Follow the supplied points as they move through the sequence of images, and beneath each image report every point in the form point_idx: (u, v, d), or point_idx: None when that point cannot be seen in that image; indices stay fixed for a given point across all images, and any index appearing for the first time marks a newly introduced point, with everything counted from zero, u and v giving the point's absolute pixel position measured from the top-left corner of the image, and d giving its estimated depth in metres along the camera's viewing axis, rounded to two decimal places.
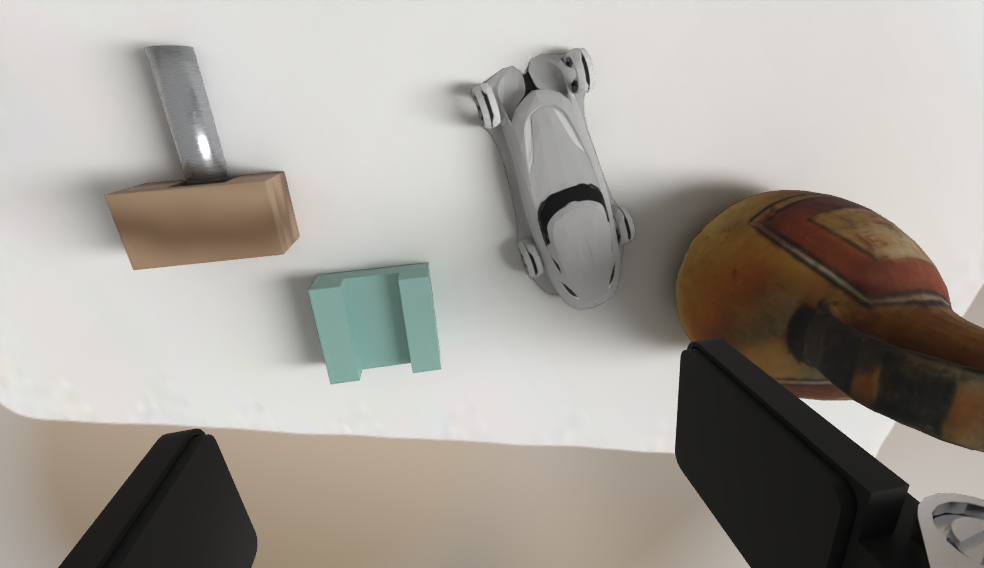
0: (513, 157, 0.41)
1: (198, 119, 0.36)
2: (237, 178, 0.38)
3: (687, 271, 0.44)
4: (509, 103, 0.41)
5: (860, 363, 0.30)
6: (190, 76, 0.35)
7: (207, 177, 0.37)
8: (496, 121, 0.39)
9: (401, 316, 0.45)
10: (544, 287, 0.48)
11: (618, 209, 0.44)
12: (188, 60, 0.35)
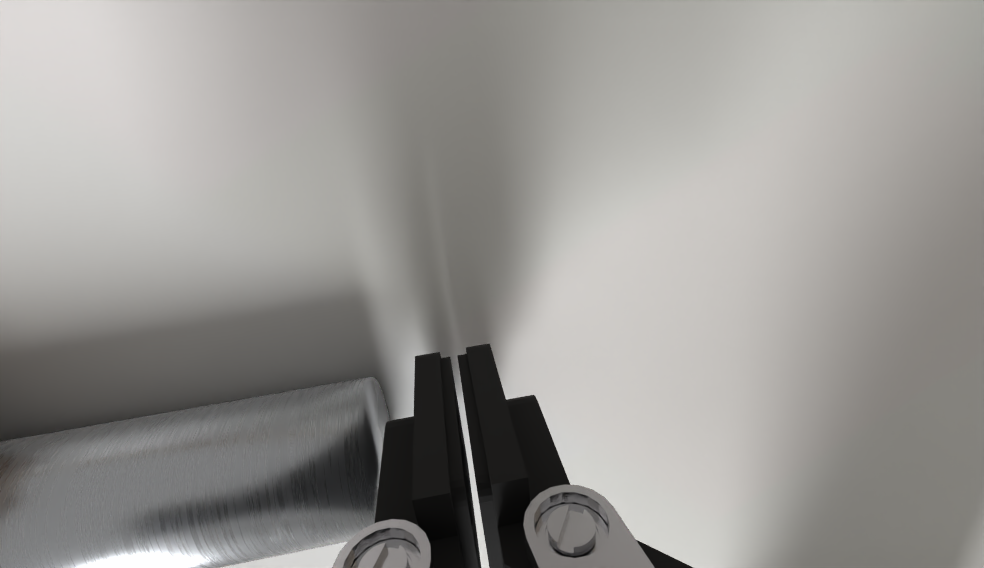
0: None
1: None
2: None
3: None
4: None
5: None
6: None
7: None
8: None
9: None
10: None
11: None
12: None
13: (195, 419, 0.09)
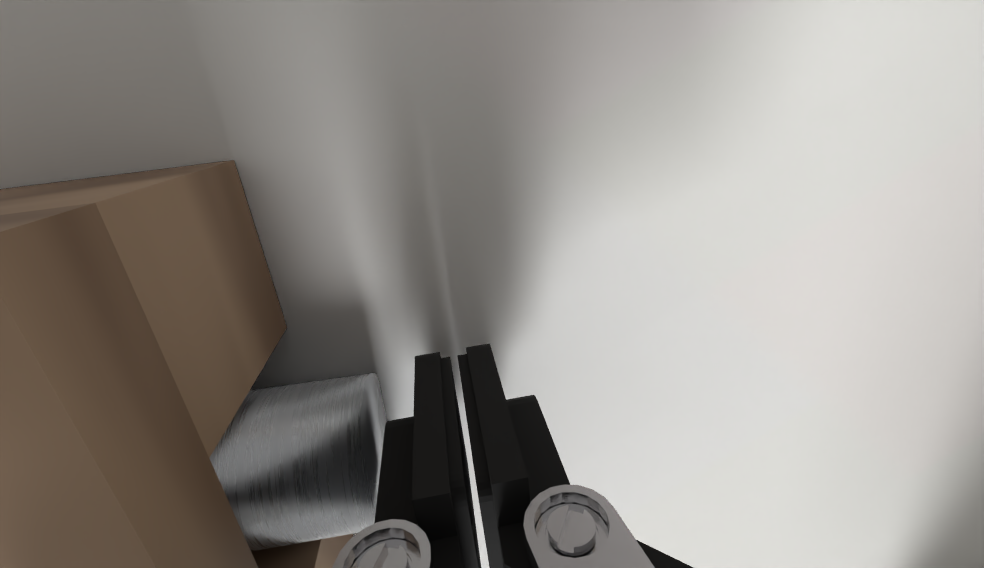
0: None
1: None
2: (322, 565, 0.10)
3: None
4: None
5: None
6: None
7: None
8: None
9: None
10: None
11: None
12: None
13: None
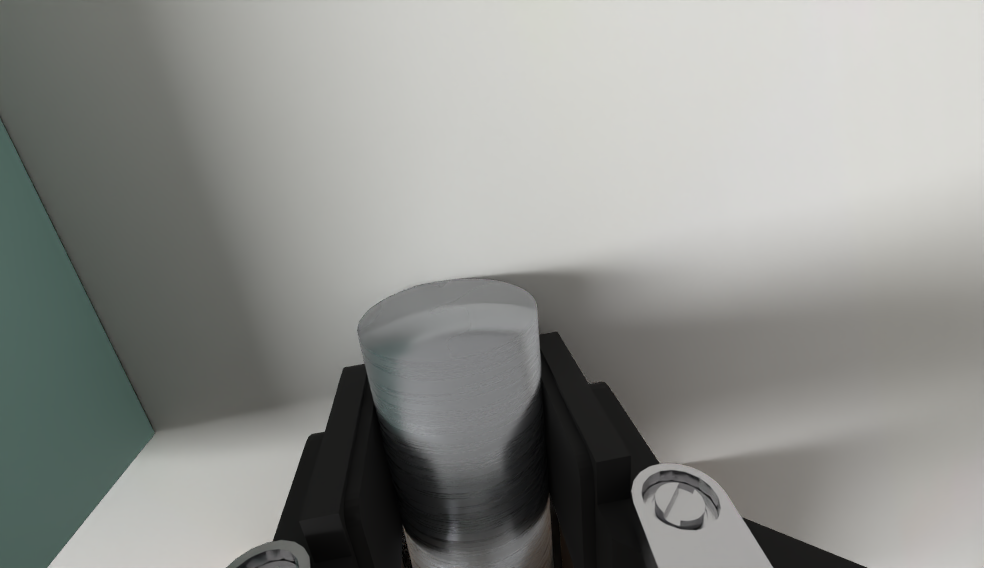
0: None
1: None
2: None
3: None
4: None
5: None
6: None
7: (439, 560, 0.09)
8: None
9: None
10: None
11: None
12: None
13: None
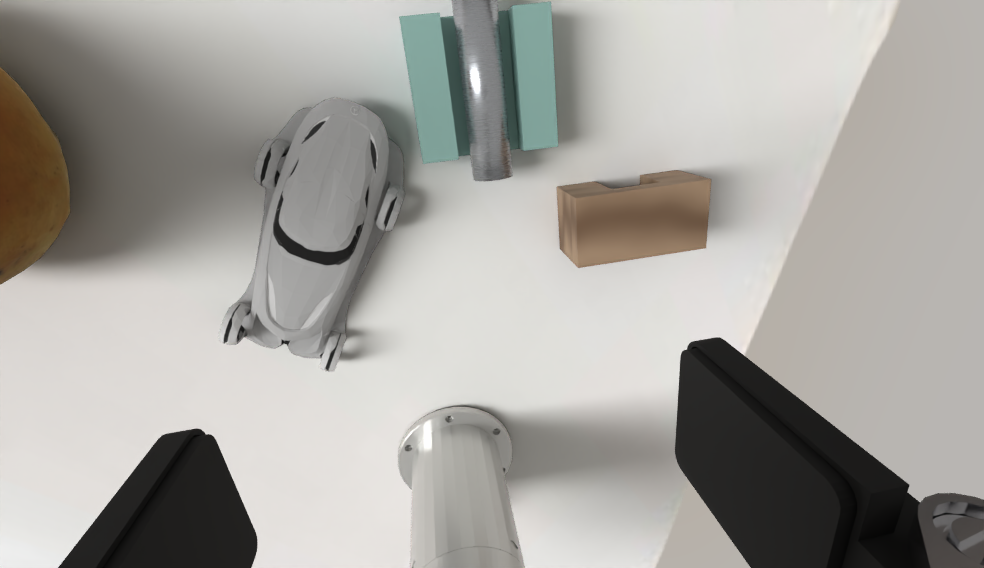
0: (338, 308, 0.41)
1: (470, 111, 0.34)
2: None
3: (55, 181, 0.31)
4: (313, 335, 0.43)
5: None
6: (473, 153, 0.35)
7: (469, 43, 0.32)
8: (331, 344, 0.41)
9: (454, 95, 0.36)
10: (400, 159, 0.38)
11: (264, 186, 0.36)
12: (473, 167, 0.36)
13: None
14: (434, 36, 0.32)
